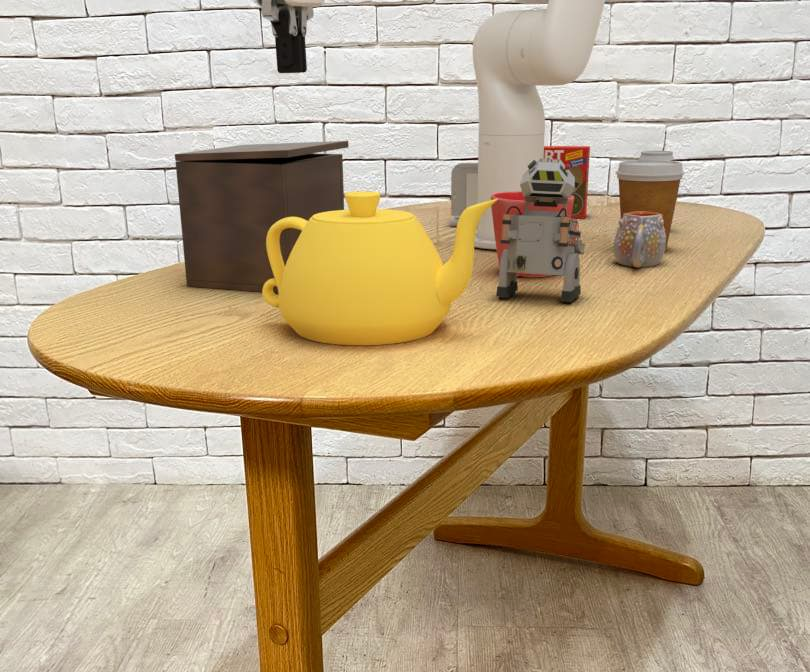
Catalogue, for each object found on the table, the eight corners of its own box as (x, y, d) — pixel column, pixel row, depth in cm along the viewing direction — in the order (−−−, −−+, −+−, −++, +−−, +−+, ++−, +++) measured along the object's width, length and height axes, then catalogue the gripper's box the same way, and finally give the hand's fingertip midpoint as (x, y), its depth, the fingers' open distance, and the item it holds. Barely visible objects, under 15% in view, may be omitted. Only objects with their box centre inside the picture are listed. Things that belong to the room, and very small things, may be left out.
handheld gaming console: (531, 220, 188) (534, 159, 184) (529, 227, 180) (531, 163, 176) (456, 219, 190) (456, 158, 186) (450, 226, 182) (451, 163, 178)
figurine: (592, 289, 132) (600, 158, 126) (567, 307, 122) (574, 166, 116) (520, 284, 135) (524, 156, 129) (490, 302, 126) (493, 164, 120)
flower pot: (585, 269, 144) (589, 192, 140) (546, 283, 136) (549, 201, 132) (514, 262, 150) (516, 188, 146) (473, 275, 141) (474, 197, 137)
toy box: (481, 216, 193) (483, 147, 188) (485, 213, 197) (486, 145, 192) (584, 218, 189) (588, 148, 185) (586, 215, 193) (590, 146, 188)
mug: (615, 258, 152) (618, 208, 149) (666, 259, 150) (670, 209, 147) (604, 273, 141) (608, 220, 139) (658, 275, 140) (663, 221, 137)
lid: (348, 147, 138) (348, 140, 137) (288, 157, 125) (287, 150, 124) (243, 151, 144) (242, 144, 143) (175, 161, 131) (174, 154, 130)
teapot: (510, 317, 118) (514, 185, 113) (475, 357, 103) (477, 206, 97) (294, 306, 125) (288, 180, 119) (230, 342, 109) (219, 199, 103)
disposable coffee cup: (683, 246, 160) (691, 160, 156) (669, 256, 152) (677, 166, 148) (620, 243, 164) (625, 159, 159) (603, 252, 156) (608, 164, 151)
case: (346, 272, 144) (342, 154, 138) (288, 294, 131) (281, 164, 125) (251, 265, 150) (243, 151, 144) (186, 286, 137) (175, 161, 131)
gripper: (277, -112, 117) (290, 74, 124) (339, -99, 129) (347, 70, 137) (217, -107, 119) (233, 75, 127) (283, -94, 132) (294, 71, 139)
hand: (292, 72), depth 132 cm, fingers closed
